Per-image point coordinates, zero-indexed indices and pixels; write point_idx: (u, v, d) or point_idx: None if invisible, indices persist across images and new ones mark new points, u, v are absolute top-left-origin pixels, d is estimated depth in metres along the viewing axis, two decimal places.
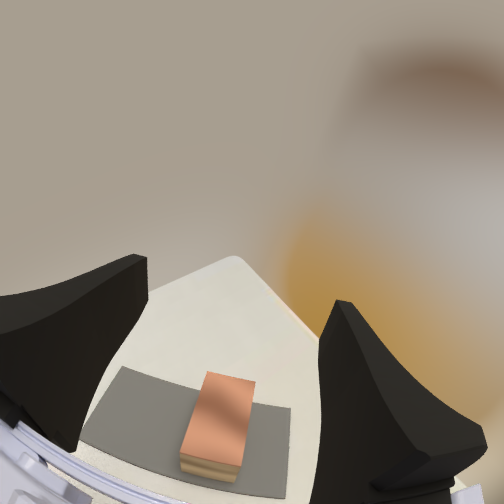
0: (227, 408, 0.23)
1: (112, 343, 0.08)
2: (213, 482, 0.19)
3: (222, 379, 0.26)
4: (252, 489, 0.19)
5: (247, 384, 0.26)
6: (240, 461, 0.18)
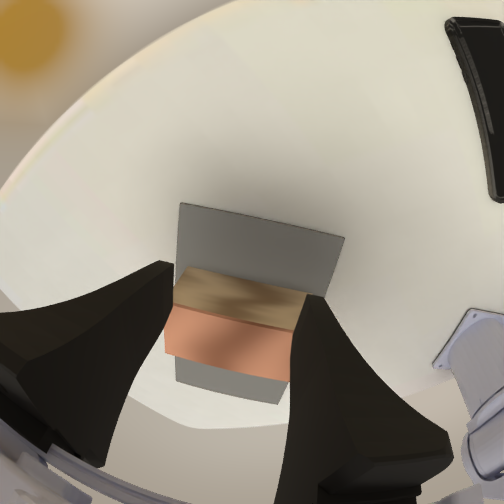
0: (221, 342, 0.18)
1: (140, 353, 0.08)
2: None
3: (172, 339, 0.19)
4: (322, 272, 0.21)
5: (171, 313, 0.18)
6: None
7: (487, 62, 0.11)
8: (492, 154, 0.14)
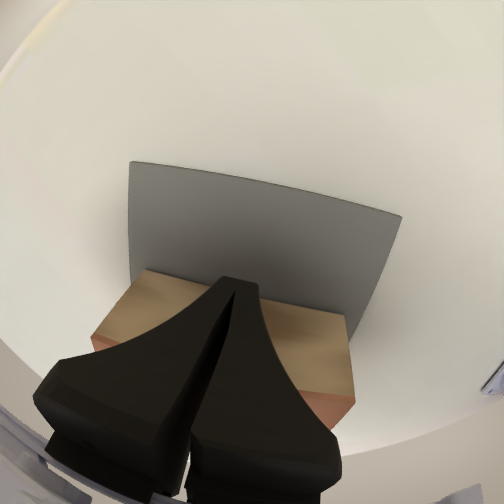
0: None
1: (211, 374, 0.08)
2: None
3: None
4: (363, 274, 0.12)
5: None
6: (342, 402, 0.09)
7: None
8: None
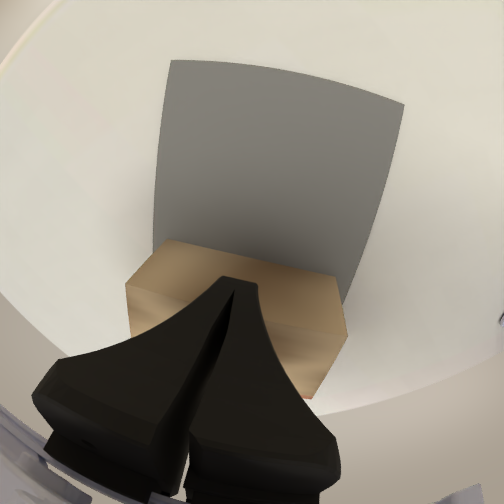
0: None
1: (210, 374, 0.08)
2: (361, 224, 0.14)
3: None
4: (377, 156, 0.13)
5: None
6: None
7: None
8: None
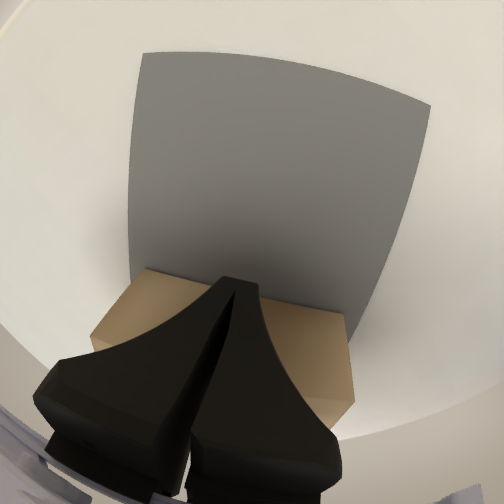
0: None
1: (211, 374, 0.08)
2: (376, 252, 0.11)
3: None
4: (398, 169, 0.10)
5: None
6: None
7: None
8: None
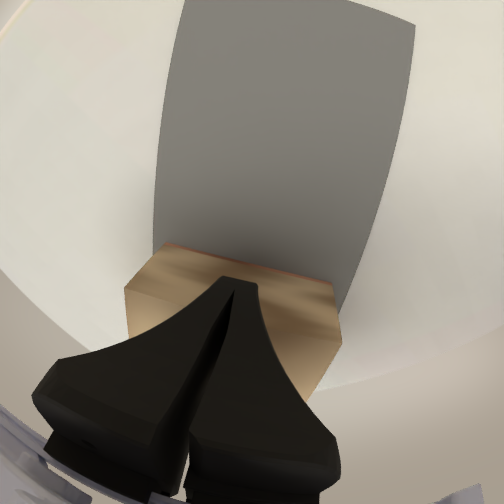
0: None
1: (210, 374, 0.08)
2: (386, 133, 0.12)
3: None
4: (395, 68, 0.10)
5: None
6: None
7: None
8: None
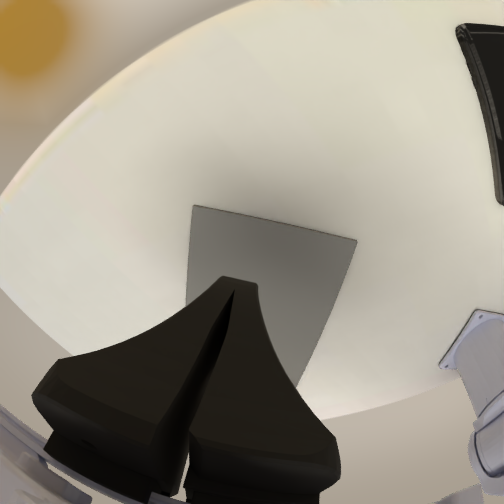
0: None
1: (210, 374, 0.08)
2: (322, 314, 0.22)
3: None
4: (335, 274, 0.21)
5: None
6: None
7: (496, 68, 0.11)
8: (499, 158, 0.14)
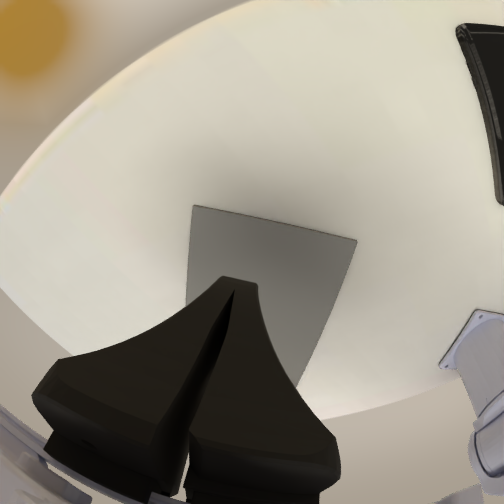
0: None
1: (210, 374, 0.08)
2: (322, 314, 0.22)
3: None
4: (335, 274, 0.21)
5: None
6: None
7: (496, 68, 0.11)
8: (499, 158, 0.14)
